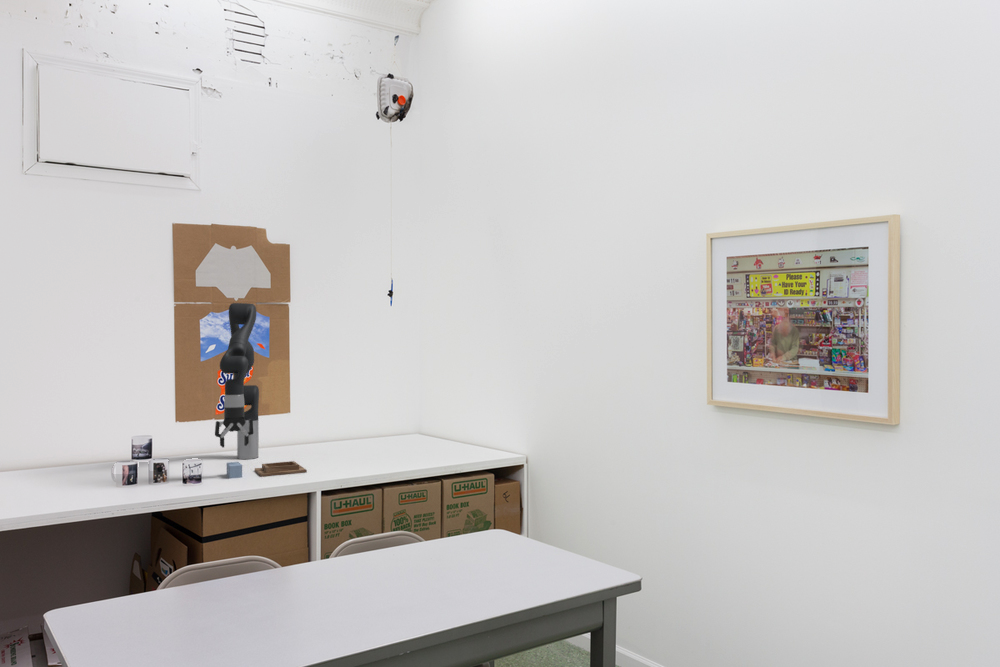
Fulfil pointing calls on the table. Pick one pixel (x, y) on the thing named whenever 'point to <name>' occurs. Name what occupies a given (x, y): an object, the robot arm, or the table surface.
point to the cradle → (280, 469)
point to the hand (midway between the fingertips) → (234, 446)
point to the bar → (234, 470)
